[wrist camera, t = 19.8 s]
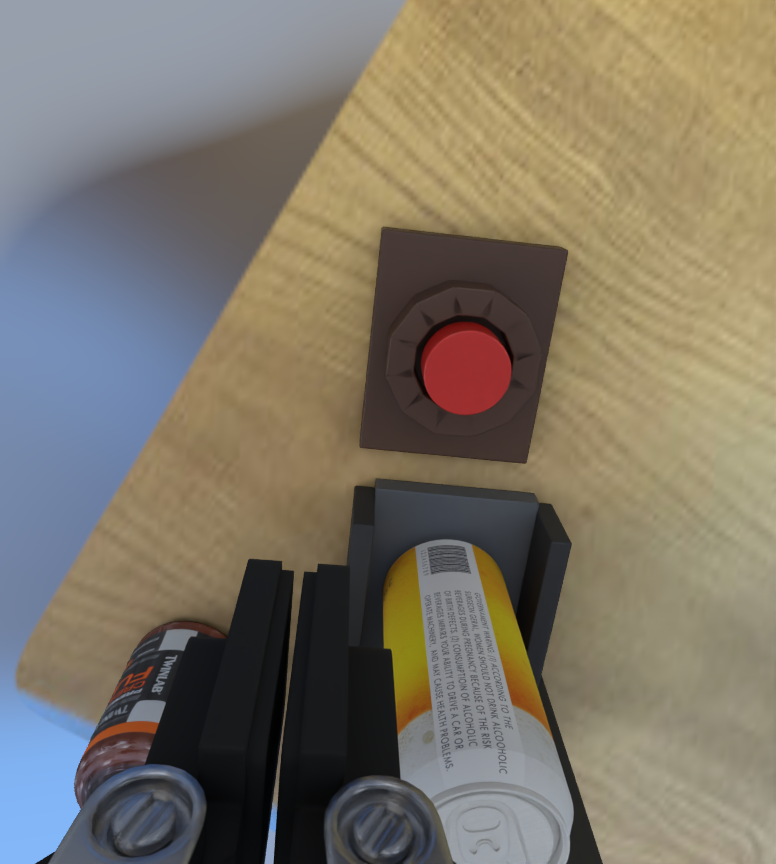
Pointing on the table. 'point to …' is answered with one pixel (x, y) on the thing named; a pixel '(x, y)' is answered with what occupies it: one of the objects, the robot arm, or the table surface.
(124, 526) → the table surface
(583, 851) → the dark grey cradle
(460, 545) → the beer can
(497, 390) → the button
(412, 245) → the button block
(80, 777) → the supplement bottle
